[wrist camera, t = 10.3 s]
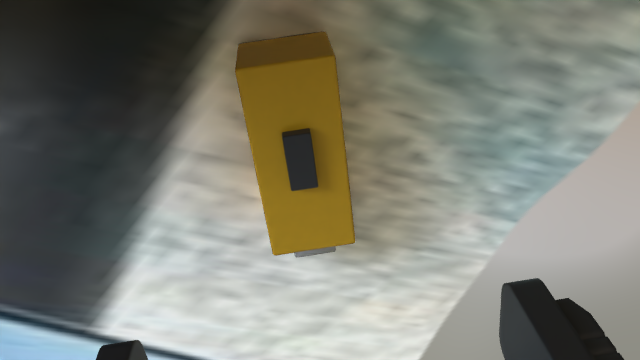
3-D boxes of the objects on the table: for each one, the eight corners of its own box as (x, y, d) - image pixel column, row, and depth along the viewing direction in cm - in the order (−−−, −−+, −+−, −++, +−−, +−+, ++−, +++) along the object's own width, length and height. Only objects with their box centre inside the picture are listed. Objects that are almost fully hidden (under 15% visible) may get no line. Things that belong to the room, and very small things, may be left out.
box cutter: (237, 43, 19) (233, 74, 16) (325, 30, 19) (337, 58, 16) (276, 239, 23) (278, 289, 20) (348, 228, 23) (360, 277, 20)
